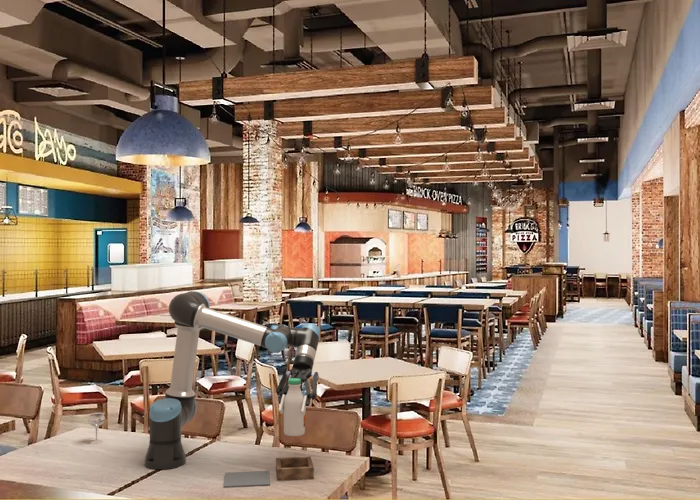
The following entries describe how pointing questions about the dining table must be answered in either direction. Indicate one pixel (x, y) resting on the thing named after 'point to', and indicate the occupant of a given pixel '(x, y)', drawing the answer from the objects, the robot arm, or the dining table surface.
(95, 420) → the wineglass
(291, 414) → the milk bottle
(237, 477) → the slate mat
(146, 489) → the dining table surface
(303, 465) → the walnut collar
